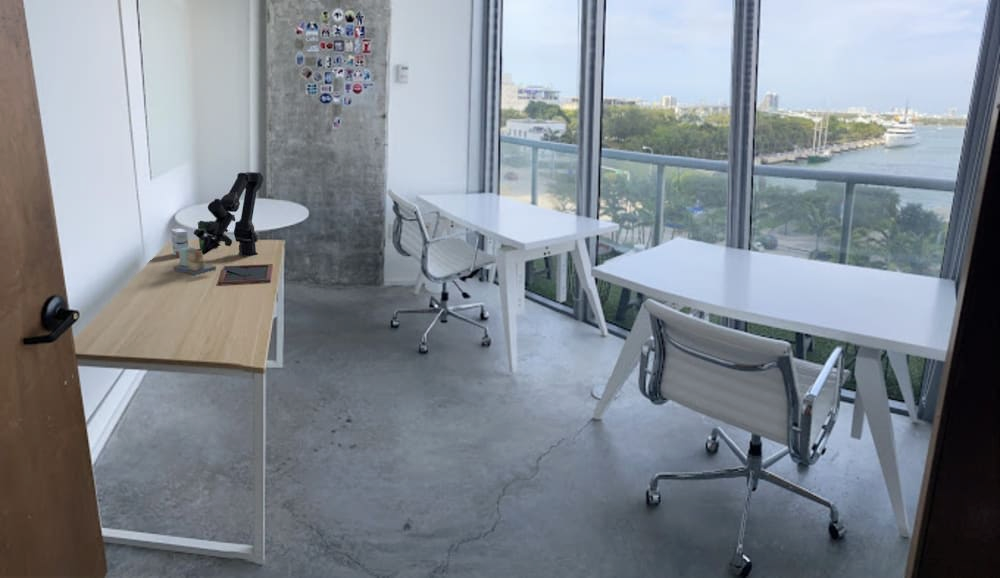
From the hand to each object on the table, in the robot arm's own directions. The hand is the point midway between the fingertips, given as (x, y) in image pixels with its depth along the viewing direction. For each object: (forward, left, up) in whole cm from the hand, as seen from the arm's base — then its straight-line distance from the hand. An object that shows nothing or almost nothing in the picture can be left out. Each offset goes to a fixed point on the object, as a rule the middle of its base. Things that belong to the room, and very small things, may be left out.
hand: (202, 254), depth 313 cm
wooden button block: (+4, +1, -5) cm, 7 cm away
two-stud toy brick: (+3, -8, -5) cm, 10 cm away
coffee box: (-21, -35, -7) cm, 41 cm away
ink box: (-6, -32, -7) cm, 33 cm away
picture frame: (-9, +19, -8) cm, 23 cm away
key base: (+2, -4, -7) cm, 8 cm away
